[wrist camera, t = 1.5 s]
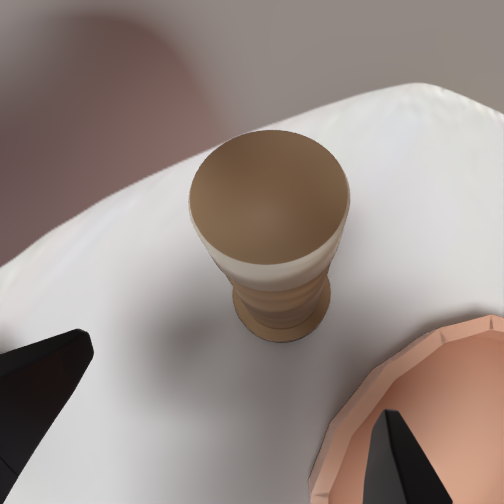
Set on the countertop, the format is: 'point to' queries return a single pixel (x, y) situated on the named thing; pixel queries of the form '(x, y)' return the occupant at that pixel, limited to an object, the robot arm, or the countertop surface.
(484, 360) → the tray
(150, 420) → the countertop surface
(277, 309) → the tan flared cylinder
